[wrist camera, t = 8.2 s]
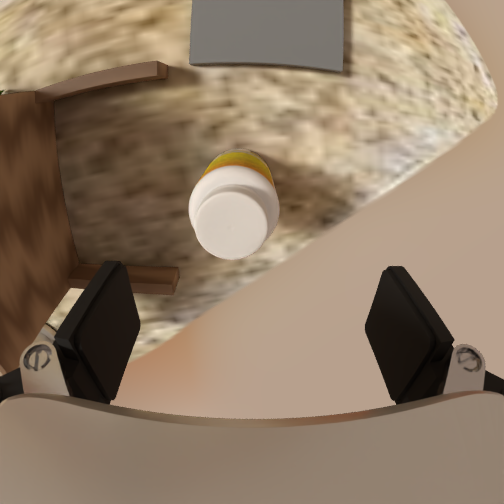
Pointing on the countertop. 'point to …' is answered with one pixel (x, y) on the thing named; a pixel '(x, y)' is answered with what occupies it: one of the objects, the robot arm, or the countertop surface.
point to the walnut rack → (48, 213)
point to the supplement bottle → (234, 205)
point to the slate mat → (268, 33)
